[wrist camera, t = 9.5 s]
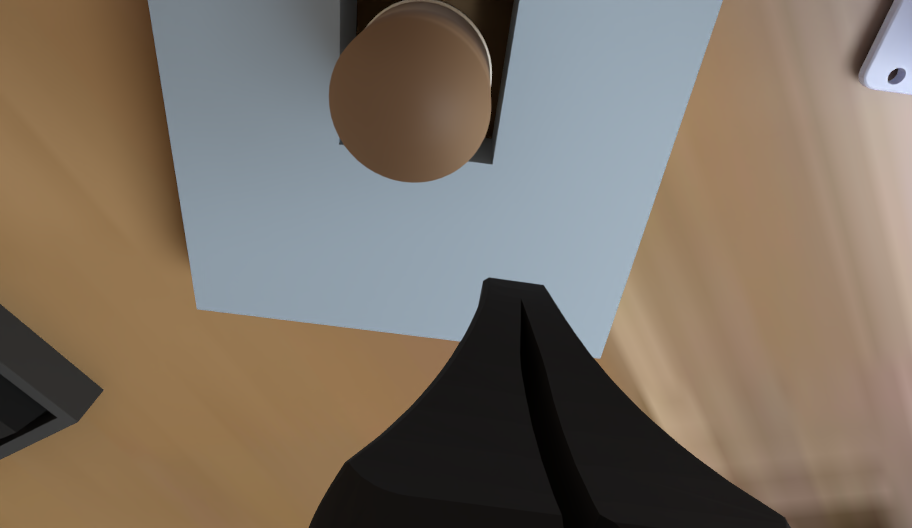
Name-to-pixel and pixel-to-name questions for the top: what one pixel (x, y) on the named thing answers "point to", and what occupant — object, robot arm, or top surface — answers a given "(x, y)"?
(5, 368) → the computer keyboard
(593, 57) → the socket board
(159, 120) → the top surface
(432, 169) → the walnut peg
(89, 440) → the top surface
